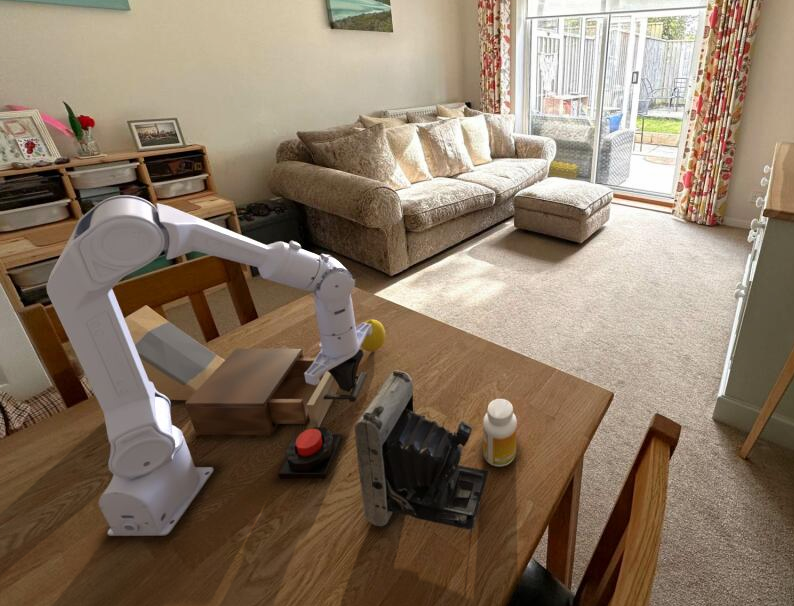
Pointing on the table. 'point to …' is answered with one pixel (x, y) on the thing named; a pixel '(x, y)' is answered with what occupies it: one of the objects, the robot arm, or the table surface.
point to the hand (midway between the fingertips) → (347, 387)
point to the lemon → (374, 336)
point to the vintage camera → (413, 462)
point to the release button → (309, 442)
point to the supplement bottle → (499, 433)
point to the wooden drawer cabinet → (241, 392)
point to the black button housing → (311, 458)
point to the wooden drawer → (307, 396)
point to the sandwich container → (170, 355)
